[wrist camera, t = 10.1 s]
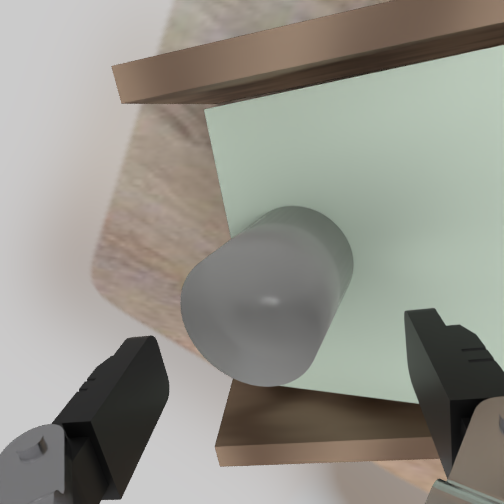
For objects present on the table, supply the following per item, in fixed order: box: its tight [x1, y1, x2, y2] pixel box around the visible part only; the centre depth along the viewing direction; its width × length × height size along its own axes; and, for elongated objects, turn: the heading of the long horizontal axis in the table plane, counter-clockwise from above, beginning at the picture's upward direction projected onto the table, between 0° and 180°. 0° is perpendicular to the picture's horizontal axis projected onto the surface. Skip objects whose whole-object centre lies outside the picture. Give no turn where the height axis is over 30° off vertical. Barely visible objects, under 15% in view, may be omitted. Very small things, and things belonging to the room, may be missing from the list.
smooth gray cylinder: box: [181, 206, 354, 387], centre depth 16 cm, size 5×5×6 cm
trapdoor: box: [204, 45, 504, 404], centre depth 16 cm, size 21×14×3 cm, turn 101°
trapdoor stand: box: [112, 0, 504, 467], centre depth 22 cm, size 18×18×15 cm
